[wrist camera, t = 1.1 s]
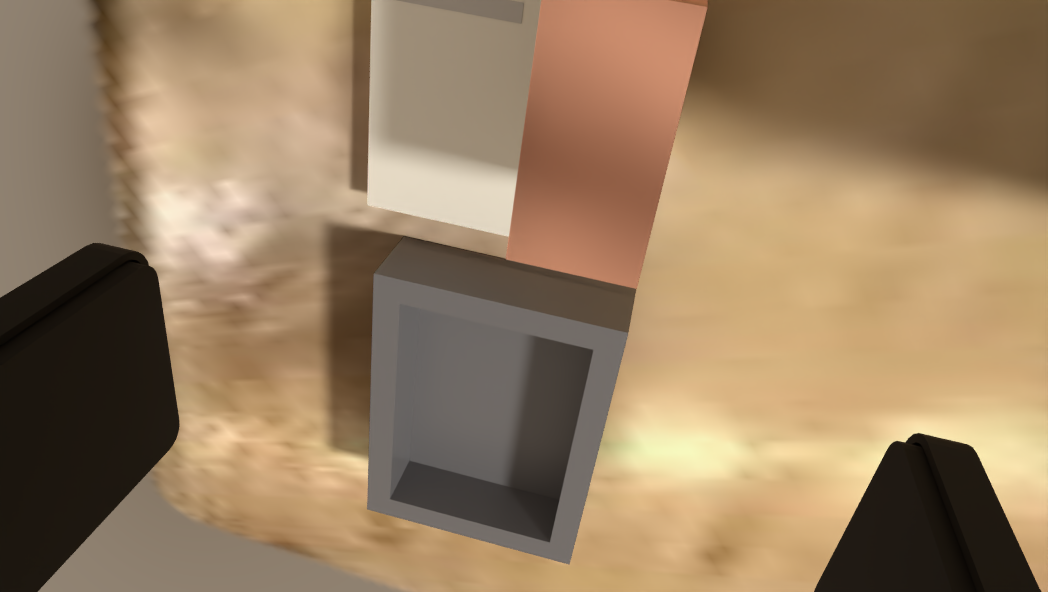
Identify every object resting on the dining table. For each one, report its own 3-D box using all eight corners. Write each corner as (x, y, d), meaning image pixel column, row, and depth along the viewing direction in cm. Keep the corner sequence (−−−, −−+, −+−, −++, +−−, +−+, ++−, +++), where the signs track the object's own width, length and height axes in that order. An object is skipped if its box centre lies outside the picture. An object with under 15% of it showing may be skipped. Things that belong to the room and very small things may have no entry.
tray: (404, 236, 28) (373, 273, 26) (636, 288, 27) (628, 333, 25) (392, 461, 35) (367, 509, 32) (580, 511, 34) (569, 564, 31)
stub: (589, -55, 22) (544, -23, 16) (709, -35, 21) (707, 7, 16) (553, 166, 26) (505, 259, 20) (654, 187, 25) (636, 288, 19)
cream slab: (388, -187, 21) (374, -189, 20) (593, -154, 21) (588, -155, 20) (377, 194, 28) (366, 205, 27) (533, 228, 27) (527, 241, 26)
